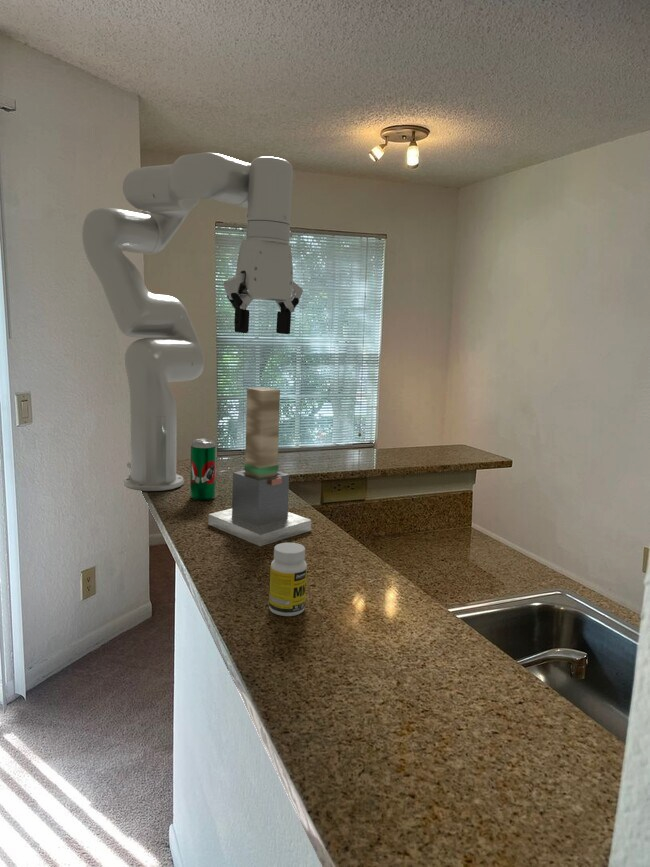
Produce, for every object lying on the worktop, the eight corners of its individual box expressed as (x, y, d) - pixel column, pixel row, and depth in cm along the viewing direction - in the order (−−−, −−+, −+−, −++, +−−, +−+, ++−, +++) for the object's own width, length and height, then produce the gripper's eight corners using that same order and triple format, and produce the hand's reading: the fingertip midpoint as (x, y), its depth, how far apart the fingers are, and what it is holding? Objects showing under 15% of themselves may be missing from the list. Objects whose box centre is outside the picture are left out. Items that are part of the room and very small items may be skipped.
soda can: (218, 495, 130) (219, 439, 128) (211, 502, 125) (212, 444, 123) (194, 493, 130) (195, 437, 128) (186, 500, 125) (187, 442, 123)
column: (244, 478, 110) (246, 388, 107) (262, 475, 113) (264, 387, 110) (259, 483, 107) (262, 391, 104) (277, 479, 110) (280, 389, 107)
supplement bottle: (296, 620, 78) (299, 557, 77) (262, 612, 80) (264, 550, 78) (310, 604, 83) (313, 544, 81) (278, 597, 84) (280, 538, 83)
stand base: (208, 524, 112) (209, 470, 110) (259, 511, 121) (260, 461, 119) (260, 546, 103) (261, 487, 101) (310, 530, 111) (313, 476, 109)
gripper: (290, 241, 118) (284, 332, 121) (214, 228, 106) (210, 330, 109) (318, 240, 113) (311, 335, 116) (241, 226, 101) (237, 334, 104)
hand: (262, 333), depth 113 cm, fingers open, 9 cm apart
